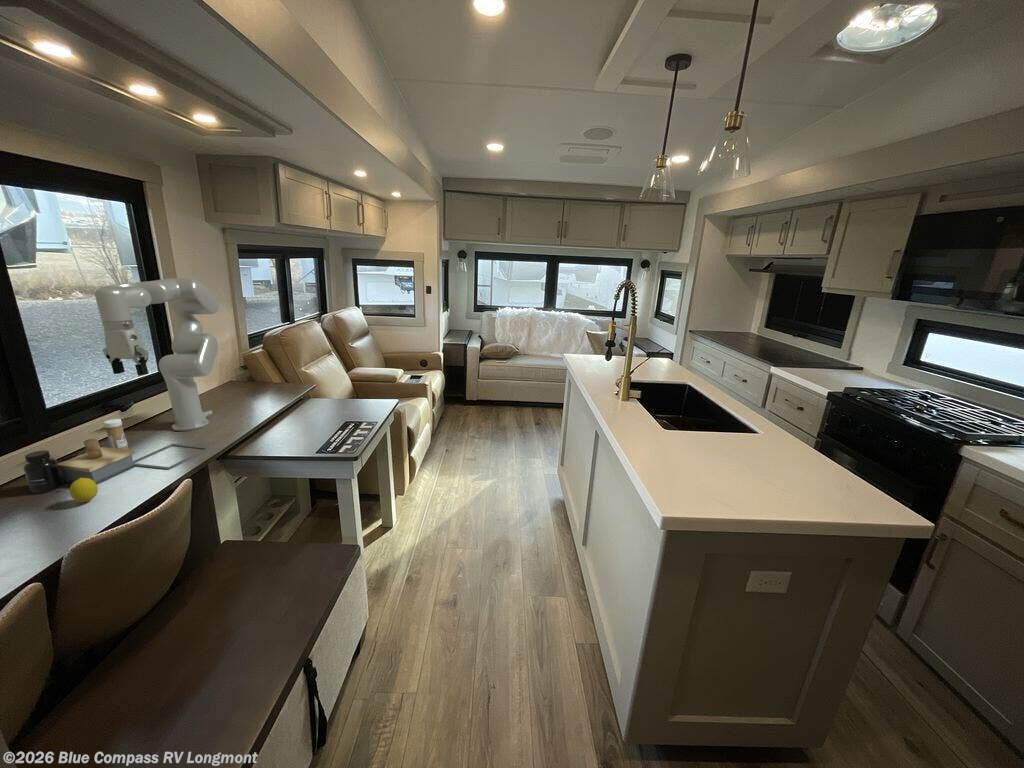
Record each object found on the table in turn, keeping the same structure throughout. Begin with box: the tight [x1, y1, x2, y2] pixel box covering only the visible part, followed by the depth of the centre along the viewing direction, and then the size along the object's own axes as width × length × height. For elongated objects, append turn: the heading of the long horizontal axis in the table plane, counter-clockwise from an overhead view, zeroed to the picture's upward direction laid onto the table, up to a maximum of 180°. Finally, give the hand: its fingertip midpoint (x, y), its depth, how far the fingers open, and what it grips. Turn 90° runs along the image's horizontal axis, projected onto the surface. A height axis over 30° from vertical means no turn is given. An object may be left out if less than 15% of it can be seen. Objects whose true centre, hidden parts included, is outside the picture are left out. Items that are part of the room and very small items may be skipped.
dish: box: [59, 454, 136, 486], centre depth 133 cm, size 12×12×5 cm
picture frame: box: [133, 443, 212, 471], centre depth 146 cm, size 17×17×1 cm
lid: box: [57, 438, 135, 472], centre depth 131 cm, size 13×13×7 cm
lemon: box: [69, 478, 99, 503], centre depth 117 cm, size 6×6×8 cm
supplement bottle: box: [22, 449, 64, 494], centre depth 123 cm, size 7×7×12 cm
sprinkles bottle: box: [103, 418, 130, 450], centre depth 145 cm, size 5×5×14 cm
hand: (131, 373), depth 141 cm, fingers open, 9 cm apart
